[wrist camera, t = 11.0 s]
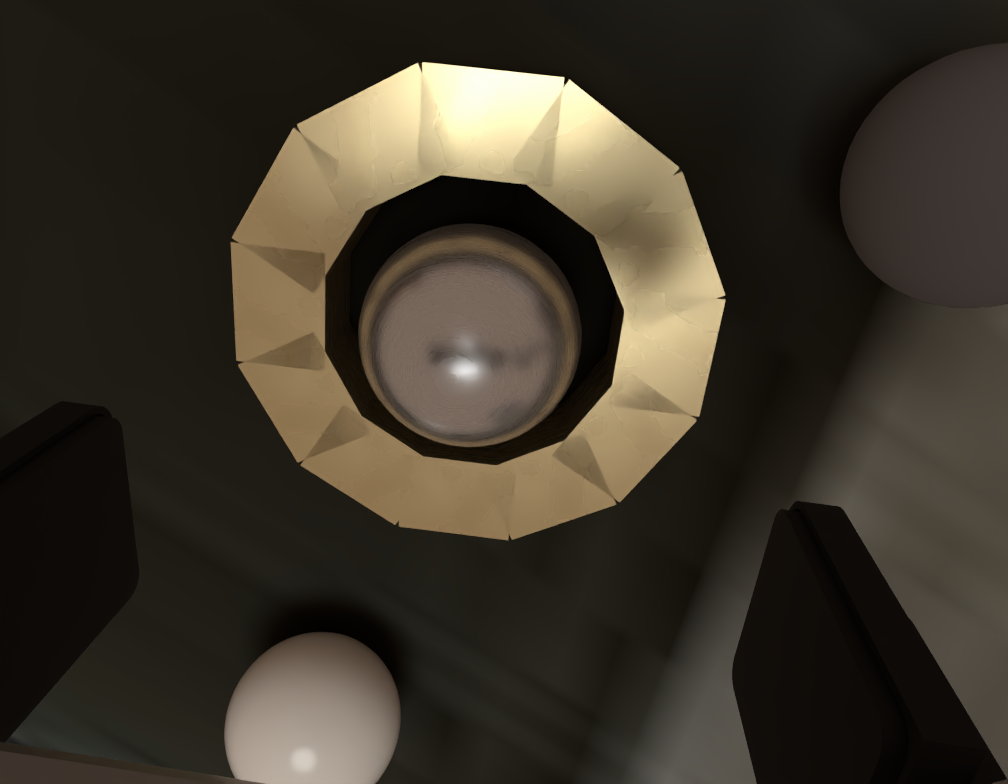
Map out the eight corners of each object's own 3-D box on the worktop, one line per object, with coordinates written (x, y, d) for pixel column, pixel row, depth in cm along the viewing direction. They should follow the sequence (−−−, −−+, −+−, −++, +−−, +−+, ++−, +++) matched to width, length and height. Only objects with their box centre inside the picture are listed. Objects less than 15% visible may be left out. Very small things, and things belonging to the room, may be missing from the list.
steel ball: (595, 219, 20) (600, 267, 15) (568, 405, 22) (563, 503, 17) (392, 195, 20) (328, 234, 15) (385, 381, 23) (327, 471, 17)
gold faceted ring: (745, 96, 19) (770, 99, 16) (656, 513, 24) (666, 560, 21) (262, 44, 19) (221, 40, 17) (273, 465, 24) (243, 506, 22)
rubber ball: (1076, 60, 18) (1283, 53, 13) (992, 285, 20) (1138, 357, 15) (842, 35, 18) (954, 19, 13) (785, 261, 20) (860, 325, 15)
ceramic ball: (418, 608, 26) (383, 740, 21) (410, 725, 28) (376, 871, 23) (260, 587, 26) (186, 713, 21) (265, 706, 28) (199, 847, 23)
